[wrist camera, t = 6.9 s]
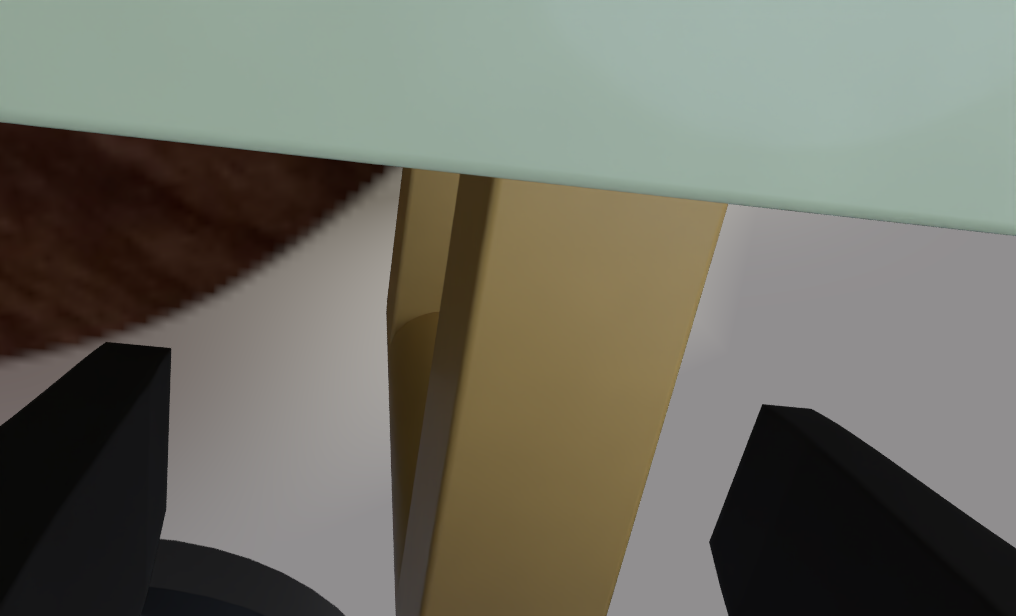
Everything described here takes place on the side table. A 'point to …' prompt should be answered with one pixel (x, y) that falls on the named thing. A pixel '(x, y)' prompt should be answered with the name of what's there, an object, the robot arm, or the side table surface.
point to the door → (549, 208)
